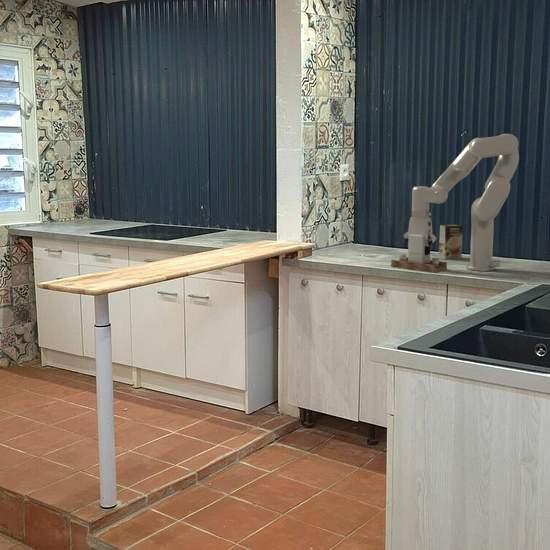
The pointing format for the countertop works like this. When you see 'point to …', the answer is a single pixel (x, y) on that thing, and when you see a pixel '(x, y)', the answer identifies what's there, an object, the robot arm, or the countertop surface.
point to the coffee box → (450, 241)
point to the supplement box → (417, 249)
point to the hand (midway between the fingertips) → (419, 253)
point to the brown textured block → (419, 264)
